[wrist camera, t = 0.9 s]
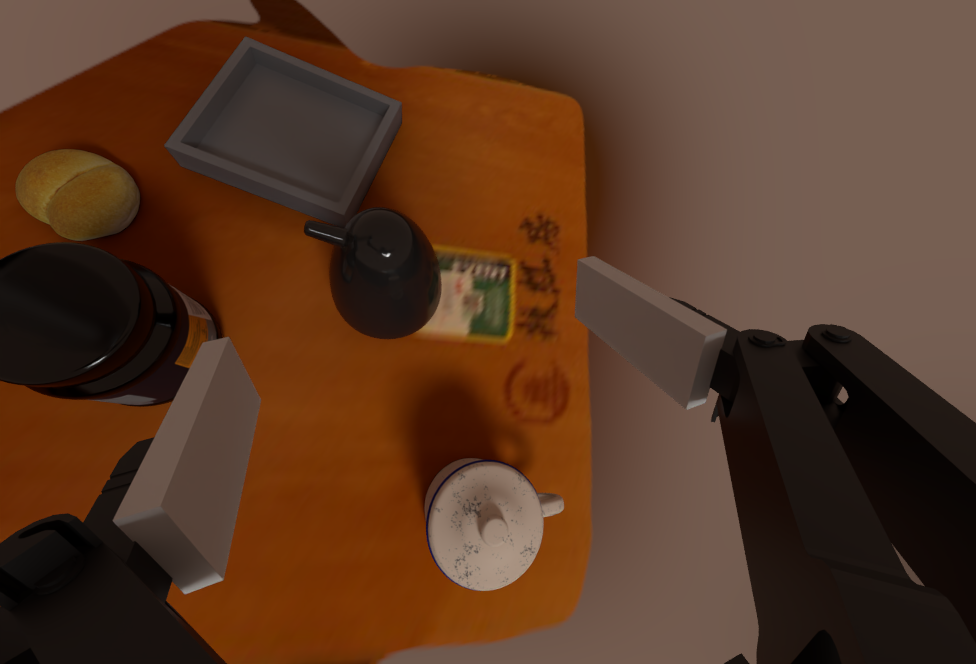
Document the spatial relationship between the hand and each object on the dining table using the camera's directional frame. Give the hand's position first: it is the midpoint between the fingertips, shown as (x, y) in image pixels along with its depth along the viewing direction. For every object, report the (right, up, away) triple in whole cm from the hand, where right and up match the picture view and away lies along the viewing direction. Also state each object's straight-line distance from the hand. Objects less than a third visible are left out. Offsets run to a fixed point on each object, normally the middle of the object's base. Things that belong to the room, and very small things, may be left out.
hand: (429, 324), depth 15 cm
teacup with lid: (+2, -17, +23) cm, 29 cm away
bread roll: (-37, +12, +23) cm, 45 cm away
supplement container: (-28, -2, +21) cm, 35 cm away
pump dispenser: (-8, +3, +26) cm, 28 cm away
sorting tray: (-19, +21, +29) cm, 41 cm away
